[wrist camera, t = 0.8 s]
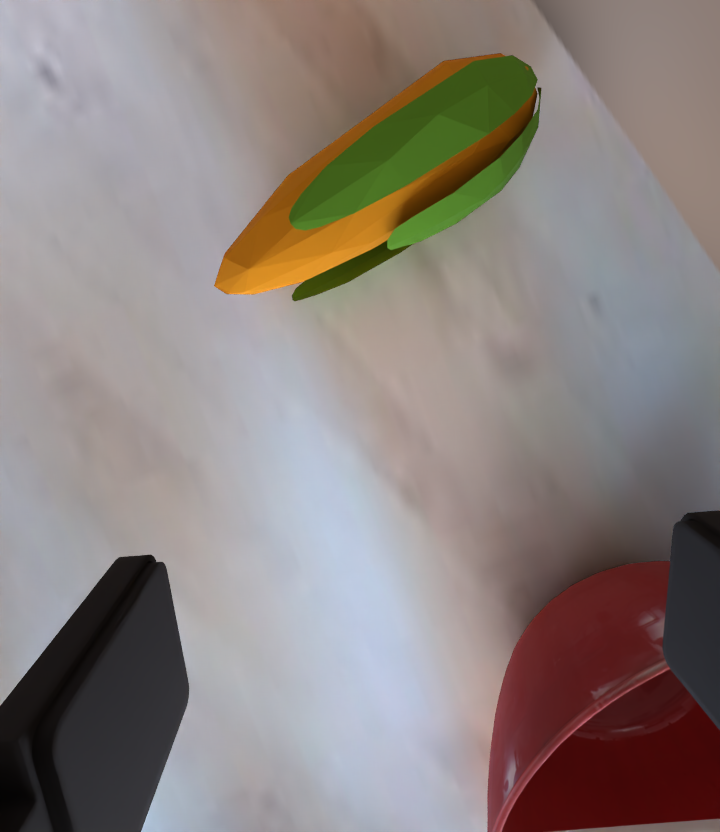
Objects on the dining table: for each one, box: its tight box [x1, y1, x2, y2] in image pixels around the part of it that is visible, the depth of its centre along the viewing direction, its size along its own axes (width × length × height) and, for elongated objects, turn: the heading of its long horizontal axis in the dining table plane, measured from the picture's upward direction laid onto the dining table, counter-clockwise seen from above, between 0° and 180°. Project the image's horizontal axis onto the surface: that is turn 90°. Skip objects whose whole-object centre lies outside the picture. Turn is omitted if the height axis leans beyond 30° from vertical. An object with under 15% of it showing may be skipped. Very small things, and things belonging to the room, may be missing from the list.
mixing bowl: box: [488, 561, 720, 832], centre depth 34 cm, size 28×28×16 cm
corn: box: [214, 53, 541, 301], centre depth 29 cm, size 7×8×20 cm
